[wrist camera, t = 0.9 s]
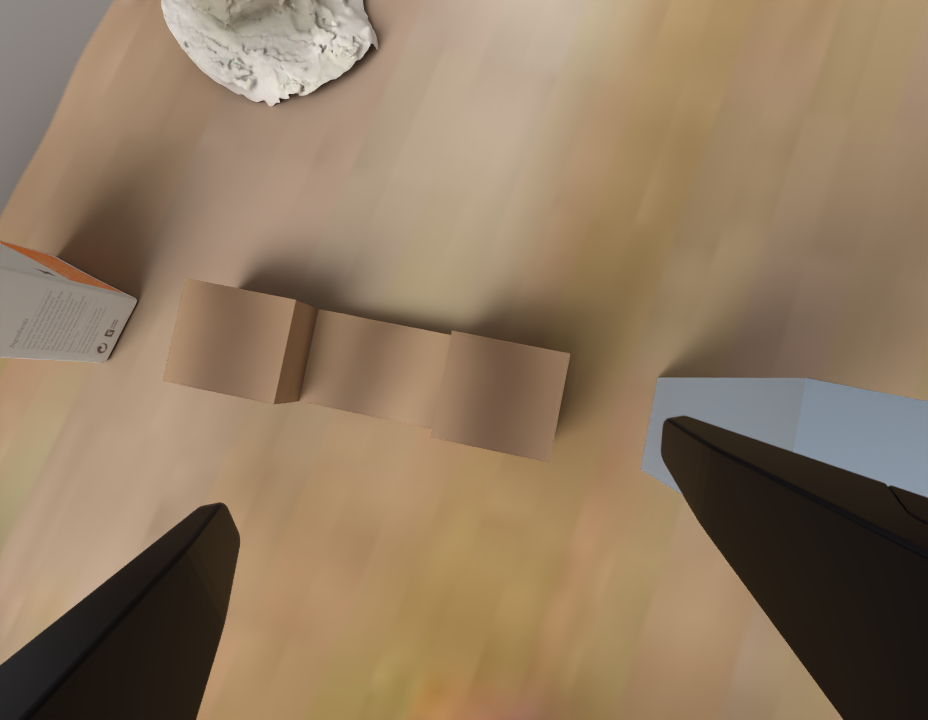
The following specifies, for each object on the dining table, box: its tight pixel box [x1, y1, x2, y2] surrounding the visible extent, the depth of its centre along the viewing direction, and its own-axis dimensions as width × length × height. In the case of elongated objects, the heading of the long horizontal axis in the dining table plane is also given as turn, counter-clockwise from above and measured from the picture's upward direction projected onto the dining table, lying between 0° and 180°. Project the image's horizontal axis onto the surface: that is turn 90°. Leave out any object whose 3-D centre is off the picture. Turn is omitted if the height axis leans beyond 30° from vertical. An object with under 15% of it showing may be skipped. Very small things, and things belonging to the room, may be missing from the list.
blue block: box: [641, 378, 928, 497], centre depth 18 cm, size 5×4×11 cm
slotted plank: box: [163, 278, 570, 462], centre depth 22 cm, size 18×5×4 cm, turn 79°
